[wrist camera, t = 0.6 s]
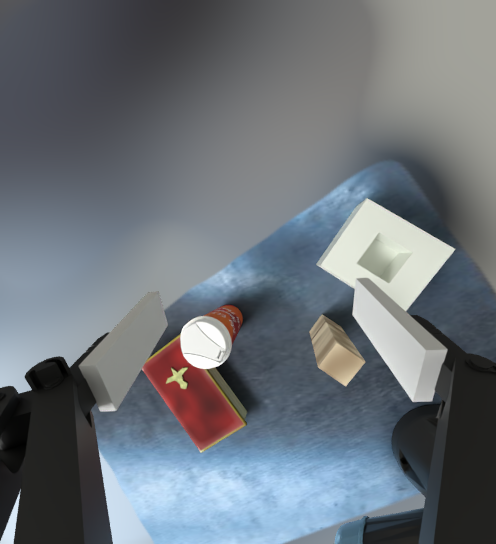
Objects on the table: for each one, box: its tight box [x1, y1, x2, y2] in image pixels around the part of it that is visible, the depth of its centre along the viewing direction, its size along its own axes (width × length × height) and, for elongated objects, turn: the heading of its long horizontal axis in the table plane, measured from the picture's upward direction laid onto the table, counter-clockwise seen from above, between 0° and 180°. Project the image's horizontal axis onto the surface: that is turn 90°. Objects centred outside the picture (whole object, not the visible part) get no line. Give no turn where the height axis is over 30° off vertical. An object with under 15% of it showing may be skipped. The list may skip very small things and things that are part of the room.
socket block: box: [316, 198, 455, 311], centre depth 37 cm, size 14×12×6 cm
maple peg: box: [310, 314, 365, 386], centre depth 35 cm, size 4×4×14 cm
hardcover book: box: [142, 334, 247, 453], centre depth 46 cm, size 12×21×4 cm, turn 38°
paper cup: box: [180, 305, 243, 369], centre depth 39 cm, size 8×8×14 cm
